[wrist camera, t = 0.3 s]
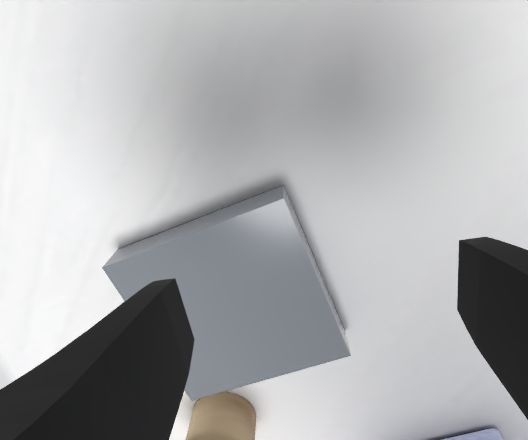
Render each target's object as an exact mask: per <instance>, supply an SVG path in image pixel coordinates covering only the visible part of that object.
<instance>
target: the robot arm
mask: <svg viewBox="0 0 528 440" xmlns="http://www.w3.org/2000/svg"><path fill="white" fill-rule="evenodd" d="M457 310H458V312H459V314H460V316H461V318H462V320H463V322H464V324H465V326H466V328H467V330H468V332H469V334H470V336H471V337H472V339H473V341H474V343H475V345H476V346H477V348H478V349H479V351H480V352H481V354H482V355H483V357H484V358H485V360H486V361H487V363H488V364H489V365H490V367H491V368H492V370H493V371H494V373H495V374H496V375H497V377H498V378H499V380H500V381H501V383H502V384H503V385H504V387H505V388H506V390H507V391H508V392H509V394H510V395H511V397H512V398H513V399H514V401H515V402H516V404H517V405H518V407H519V408H520V409H521V411H522V412H523V414H524V415H525V416H526V418H527V419H528V250H526V249H523V248H520V247H517V246H514V245H511V244H508V243H505V242H502V241H499V240H496V239H492V238H488V237H481V238H474V239H466V240H459V268H458V303H457ZM194 340H195V339H194V336H193V333H192V330H191V326H190V323H189V320H188V317H187V314H186V310H185V307H184V304H183V301H182V298H181V294H180V291H179V288H178V285H177V282H176V279H175V278H173V279H165V280H158V281H153V282H151V283H150V284H148V285H146V286H145V287H143V288H142V289H141V290H139V291H138V292H137V293H135V294H134V295H133V296H131V297H130V298H129V299H127V300H126V301H125V302H124V303H122V304H121V305H120V306H119V307H117V308H116V309H115V310H113V311H112V312H111V313H110V314H108V315H107V316H106V317H104V318H103V319H102V320H101V321H99V322H98V323H97V324H95V325H94V326H93V327H92V328H90V329H89V330H88V331H86V332H85V333H83V334H82V335H81V336H79V337H78V338H77V339H75V340H74V341H72V342H71V343H70V344H68V345H67V346H66V347H64V348H63V349H61V350H60V351H59V352H57V353H56V354H55V355H53V356H52V357H50V358H49V359H47V360H46V361H44V362H43V363H42V364H40V365H38V366H37V367H35V368H34V369H32V370H31V371H29V372H28V373H26V374H25V375H23V376H21V377H20V378H18V379H17V380H15V381H13V382H12V383H10V384H9V385H7V386H6V387H4V388H2V389H1V390H0V440H169V437H170V434H171V431H172V428H173V424H174V421H175V418H176V415H177V412H178V409H179V405H180V402H181V399H182V396H183V392H184V389H185V386H186V382H187V379H188V375H189V370H190V365H191V359H192V353H193V346H194ZM442 440H503V439H502V435H501V434H500V432H499V430H497V429H494V428H491V429H486V430H482V431H477V432H473V433H469V434H464V435H460V436H455V437H451V438H447V439H442Z"/></svg>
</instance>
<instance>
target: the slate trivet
mask: <svg viewBox="0 0 528 440" xmlns="http://www.w3.org/2000/svg"><path fill="white" fill-rule="evenodd" d="M102 268H103V270H104V271H105V273H106V274H107V276H108V277H109V279H110V280H111V281H112V283H113V284H114V286H115V287H116V289H117V290H118V292H119V293H120V295H121V296H122V298H123V299H124V301H126V300H127V299H129V298H130V297H131V296H133V295H134V294H135V293H137V292H138V291H139V290H141V289H142V288H143V287H145V286H146V285H148V284H150V283H151V282H153V281H158V280H165V279H173V278H175V279H176V282H177V285H178V288H179V291H180V294H181V298H182V301H183V304H184V307H185V310H186V314H187V317H188V320H189V323H190V326H191V330H192V333H193V336H194V339H195V340H194V346H193V353H192V359H191V365H190V370H189V375H188V379H187V382H186V386H185V389H184V390H185V391H186V393H187V394H188V396H189V397H190V399H191V400H196V399H199V398H203V397H206V396H210V395H214V394H217V393H221V392H224V391H228V390H231V389H235V388H238V387H242V386H245V385H249V384H252V383H256V382H259V381H263V380H266V379H270V378H273V377H277V376H280V375H284V374H287V373H291V372H295V371H298V370H302V369H305V368H309V367H312V366H316V365H319V364H323V363H326V362H330V361H333V360H337V359H340V358H344V357H347V356H351V355H350V351H349V346H348V342H347V338H346V334H345V330H344V328H343V326H342V323H341V321H340V318H339V316H338V314H337V311H336V309H335V307H334V304H333V302H332V299H331V297H330V295H329V292H328V290H327V287H326V285H325V283H324V280H323V278H322V276H321V273H320V271H319V268H318V266H317V264H316V261H315V259H314V256H313V254H312V252H311V249H310V247H309V245H308V242H307V240H306V237H305V235H304V233H303V230H302V228H301V226H300V223H299V221H298V218H297V216H296V214H295V211H294V209H293V206H292V204H291V202H290V199H289V197H288V195H287V192H286V190H285V187H284V185H282V186H280V187H277V188H275V189H272V190H270V191H267V192H264V193H262V194H259V195H257V196H254V197H252V198H249V199H246V200H244V201H241V202H239V203H236V204H234V205H231V206H228V207H226V208H223V209H221V210H218V211H216V212H213V213H210V214H208V215H205V216H203V217H200V218H198V219H195V220H192V221H190V222H187V223H185V224H182V225H180V226H177V227H174V228H172V229H169V230H167V231H164V232H161V233H159V234H156V235H154V236H151V237H149V238H146V239H143V240H141V241H138V242H136V243H133V244H131V245H128V246H125V247H123V248H120V249H118V250H117V251H116V252H115V253H114V255H113V256H112V257H111V258H110V259H109V260H108V262H107V263H106V264H105V265H104V266H103V267H102Z"/></svg>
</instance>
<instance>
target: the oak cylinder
mask: <svg viewBox="0 0 528 440" xmlns="http://www.w3.org/2000/svg"><path fill="white" fill-rule="evenodd" d="M255 426H256V412H255V409H254V407H253V406H252V404H251V403H250V402H249V401H248V400H246V399H245V398H243V397H241V396H239V395H237V394H234V393H229V392H221V393H217V394H214V395H210V396H206V397H203V398H200V399H199V400H198V401H197V402H196V404H195V406H194V409H193V413H192V417H191V421H190V425H189V429H188V433H187V437H186V440H255Z"/></svg>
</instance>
